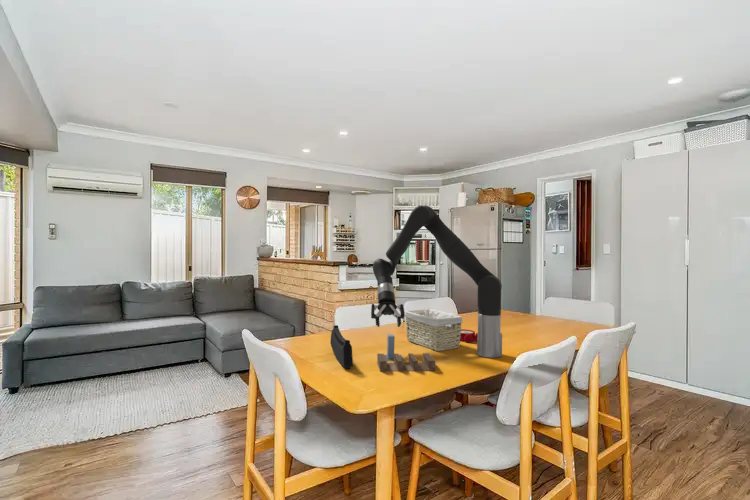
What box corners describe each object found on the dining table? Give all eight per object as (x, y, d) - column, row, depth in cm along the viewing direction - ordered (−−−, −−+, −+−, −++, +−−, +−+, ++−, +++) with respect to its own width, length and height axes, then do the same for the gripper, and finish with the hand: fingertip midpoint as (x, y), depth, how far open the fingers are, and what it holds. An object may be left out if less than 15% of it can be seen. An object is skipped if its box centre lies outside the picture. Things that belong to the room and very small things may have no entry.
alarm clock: (464, 328, 201) (485, 327, 188) (466, 341, 200) (487, 341, 187) (448, 330, 196) (469, 329, 183) (450, 343, 195) (470, 343, 182)
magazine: (354, 347, 139) (340, 309, 166) (345, 347, 138) (332, 310, 166) (350, 388, 144) (337, 345, 171) (342, 389, 143) (329, 346, 170)
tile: (392, 356, 159) (393, 334, 159) (394, 359, 155) (394, 336, 155) (386, 356, 159) (387, 334, 159) (388, 359, 155) (388, 336, 155)
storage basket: (463, 348, 175) (464, 315, 175) (435, 353, 167) (436, 318, 167) (429, 337, 196) (430, 308, 196) (402, 341, 187) (403, 310, 187)
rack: (428, 363, 151) (429, 353, 151) (435, 371, 141) (435, 360, 141) (377, 363, 149) (377, 353, 149) (380, 372, 140) (380, 361, 140)
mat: (401, 355, 162) (401, 354, 162) (404, 361, 153) (404, 360, 153) (376, 355, 161) (376, 354, 161) (379, 361, 152) (379, 361, 152)
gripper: (370, 289, 172) (372, 320, 161) (402, 289, 173) (406, 320, 162) (369, 300, 177) (371, 330, 166) (400, 300, 179) (404, 330, 167)
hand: (388, 325), depth 164 cm, fingers open, 8 cm apart
